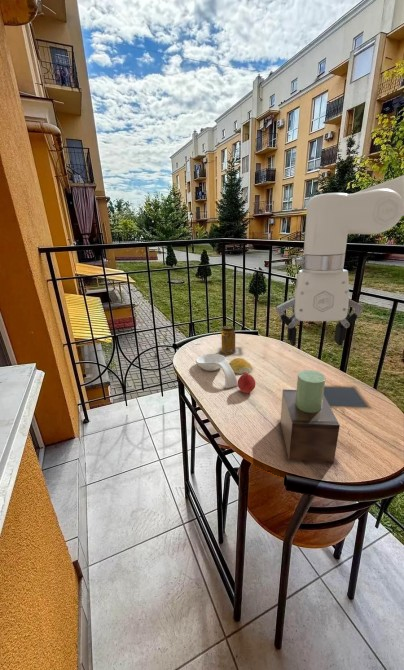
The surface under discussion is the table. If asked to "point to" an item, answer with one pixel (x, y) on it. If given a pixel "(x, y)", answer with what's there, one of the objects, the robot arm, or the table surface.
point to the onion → (246, 383)
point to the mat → (343, 397)
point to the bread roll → (240, 365)
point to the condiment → (228, 340)
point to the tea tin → (310, 391)
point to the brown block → (308, 431)
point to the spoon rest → (216, 362)
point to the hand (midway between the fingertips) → (315, 343)
